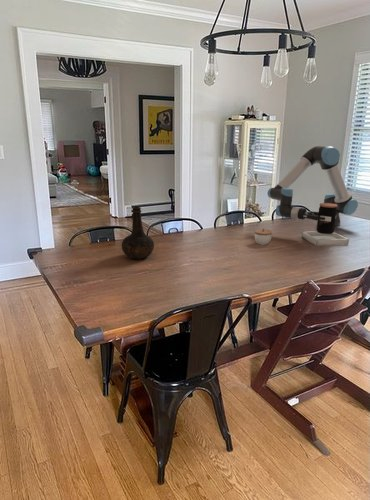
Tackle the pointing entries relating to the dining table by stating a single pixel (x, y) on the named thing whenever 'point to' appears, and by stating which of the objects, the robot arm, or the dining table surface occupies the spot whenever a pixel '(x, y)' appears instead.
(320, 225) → the coffee jar
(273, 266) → the dining table surface
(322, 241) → the tray
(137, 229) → the glass bottle
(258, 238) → the lidded jar
